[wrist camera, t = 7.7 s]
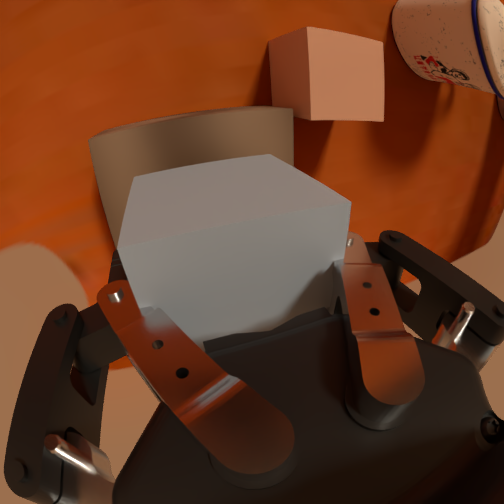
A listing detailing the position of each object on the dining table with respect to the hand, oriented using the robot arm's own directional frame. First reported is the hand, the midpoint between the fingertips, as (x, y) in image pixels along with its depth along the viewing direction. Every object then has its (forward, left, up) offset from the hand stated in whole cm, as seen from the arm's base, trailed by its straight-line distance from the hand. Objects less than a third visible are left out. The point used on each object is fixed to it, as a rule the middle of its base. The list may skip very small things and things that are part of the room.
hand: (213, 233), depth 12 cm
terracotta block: (-8, -7, -6) cm, 12 cm away
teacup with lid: (-22, -13, -6) cm, 26 cm away
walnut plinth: (0, 0, -6) cm, 6 cm away
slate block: (0, 0, -1) cm, 1 cm away
